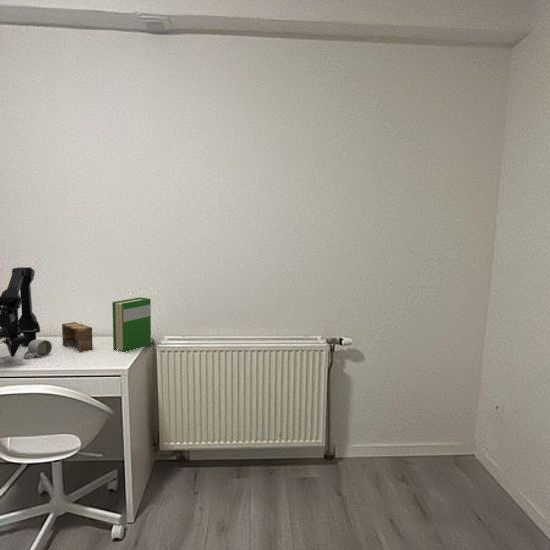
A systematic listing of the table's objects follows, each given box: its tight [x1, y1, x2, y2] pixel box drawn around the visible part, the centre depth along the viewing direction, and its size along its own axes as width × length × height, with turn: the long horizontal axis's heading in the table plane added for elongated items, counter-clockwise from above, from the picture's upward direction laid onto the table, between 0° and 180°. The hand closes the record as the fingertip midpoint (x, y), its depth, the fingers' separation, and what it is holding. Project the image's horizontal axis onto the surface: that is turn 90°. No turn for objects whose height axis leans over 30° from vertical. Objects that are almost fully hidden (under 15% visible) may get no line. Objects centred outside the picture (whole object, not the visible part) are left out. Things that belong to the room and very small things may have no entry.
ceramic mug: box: [23, 338, 53, 359], centre depth 196 cm, size 11×8×8 cm
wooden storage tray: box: [61, 321, 94, 353], centre depth 210 cm, size 18×6×11 cm, turn 51°
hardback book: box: [111, 297, 152, 353], centre depth 212 cm, size 18×7×24 cm, turn 151°
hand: (12, 356), depth 188 cm, fingers closed
